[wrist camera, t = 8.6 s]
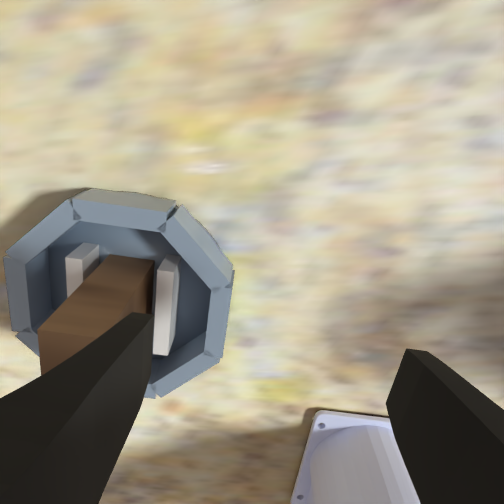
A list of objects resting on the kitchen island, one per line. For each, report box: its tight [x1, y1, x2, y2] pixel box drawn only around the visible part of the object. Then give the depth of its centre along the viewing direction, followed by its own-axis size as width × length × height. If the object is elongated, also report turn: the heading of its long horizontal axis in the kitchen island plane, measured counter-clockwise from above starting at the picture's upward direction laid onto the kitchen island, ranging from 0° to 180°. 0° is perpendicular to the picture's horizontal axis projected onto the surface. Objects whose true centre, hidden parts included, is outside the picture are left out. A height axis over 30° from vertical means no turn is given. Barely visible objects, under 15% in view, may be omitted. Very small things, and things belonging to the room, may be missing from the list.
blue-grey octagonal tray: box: [3, 188, 235, 399], centre depth 20 cm, size 11×11×2 cm
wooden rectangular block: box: [37, 254, 155, 375], centre depth 17 cm, size 4×2×7 cm, turn 172°
